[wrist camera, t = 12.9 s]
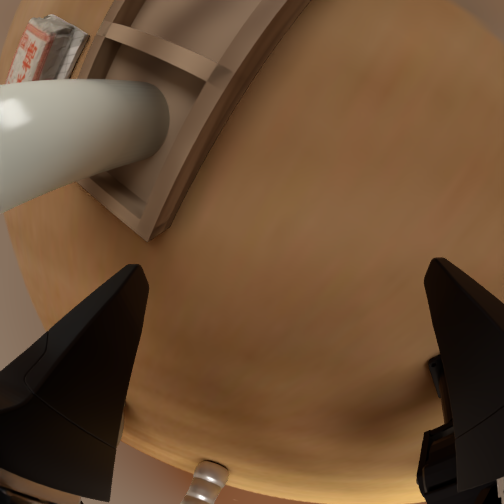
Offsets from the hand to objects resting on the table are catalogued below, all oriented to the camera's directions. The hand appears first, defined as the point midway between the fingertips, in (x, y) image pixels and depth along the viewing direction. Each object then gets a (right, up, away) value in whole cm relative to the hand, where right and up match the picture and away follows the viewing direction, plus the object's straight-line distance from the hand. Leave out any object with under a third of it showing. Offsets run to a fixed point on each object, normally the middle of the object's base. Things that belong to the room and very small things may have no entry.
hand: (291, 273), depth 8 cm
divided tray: (-6, +14, +7) cm, 17 cm away
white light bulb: (-9, +10, +9) cm, 17 cm away
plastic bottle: (-8, -42, +36) cm, 56 cm away
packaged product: (-24, +18, +13) cm, 33 cm away
